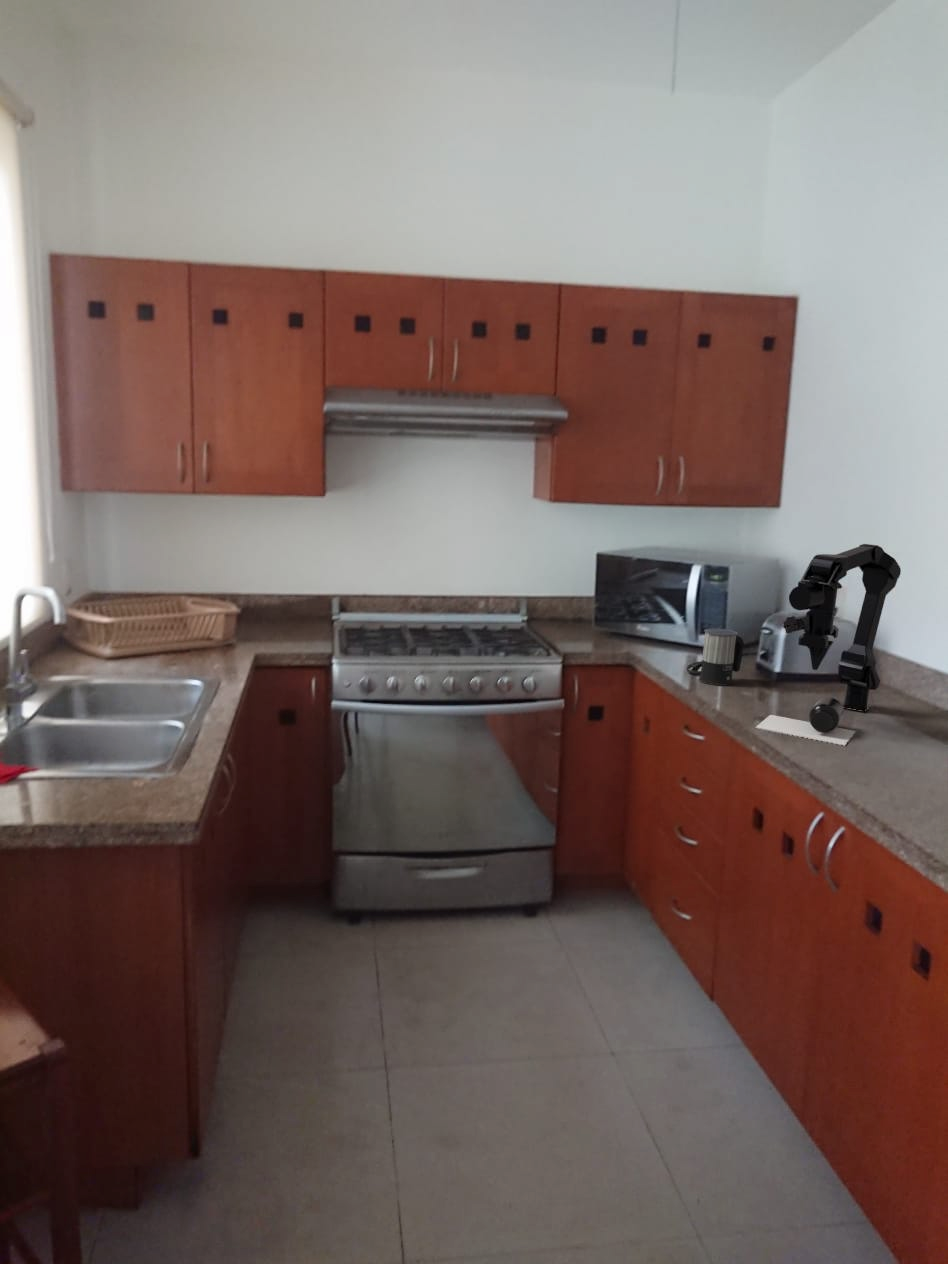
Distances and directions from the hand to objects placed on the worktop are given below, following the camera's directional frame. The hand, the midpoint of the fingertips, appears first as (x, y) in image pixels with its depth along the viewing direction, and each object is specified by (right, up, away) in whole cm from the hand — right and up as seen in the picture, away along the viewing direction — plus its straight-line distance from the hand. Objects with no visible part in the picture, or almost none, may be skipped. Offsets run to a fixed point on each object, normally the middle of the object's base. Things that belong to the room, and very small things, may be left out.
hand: (814, 669), depth 226 cm
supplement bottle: (+2, -10, -3) cm, 11 cm away
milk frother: (-16, -4, +39) cm, 43 cm away
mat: (-5, -14, -8) cm, 17 cm away
